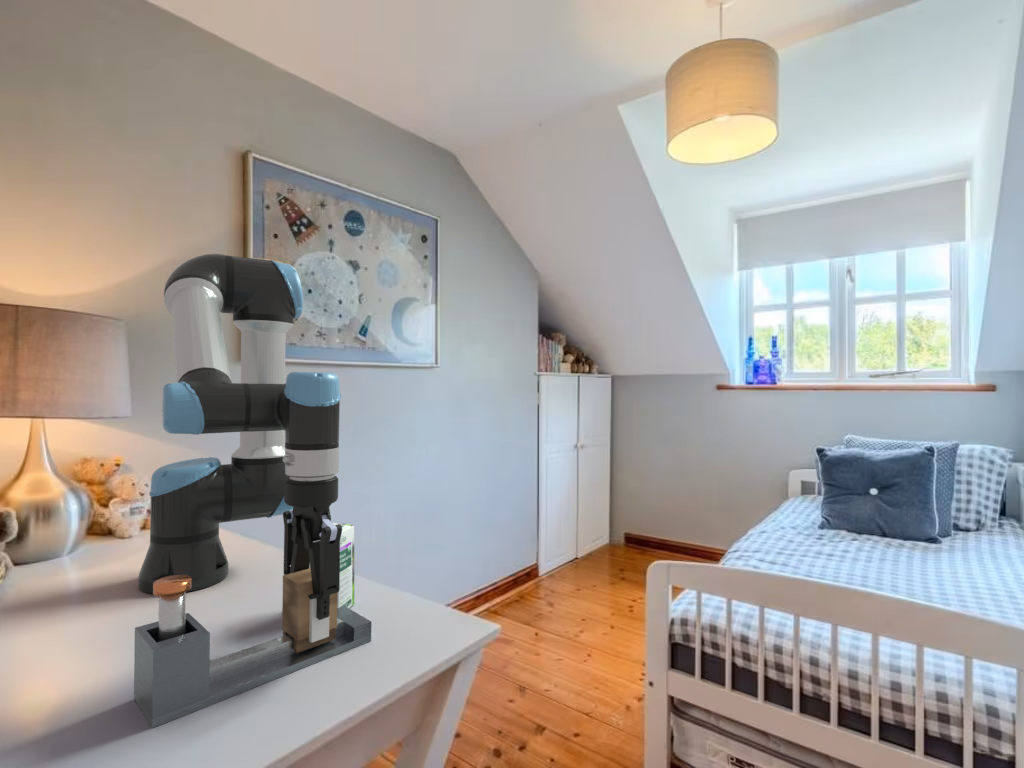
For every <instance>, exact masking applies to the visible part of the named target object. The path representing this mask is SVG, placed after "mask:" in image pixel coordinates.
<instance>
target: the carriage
mask: <svg viewBox="0 0 1024 768" xmlns="http://www.w3.org/2000/svg"><path fill="white" fill-rule="evenodd" d="M310 594H313V587H312V578H311V568H310V569H306V570H302V571H298V572H294V573H290V574H287V575H284V574H283V575H282V607H281V608H282V610H281V611H282V612H281V613H282V614H281V615H282V617H281V620H282V621H281V630H282V636H285V635H288V634H289V635H291V636H292V637H293V638H294V652H295V653H299V652H302V651H305V650H307V649H310V648H313V647H315V646H318V645H321V644H323V643H326V642H329V641H331V640H334V639H335V635H336V627H337V593H334V594H331V595H330V614H329V637H326V638H324V639H321V640H318V641H315V642H313V643H311V642H310V641H309V610H310V599H309V597H308V595H310Z"/></svg>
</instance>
